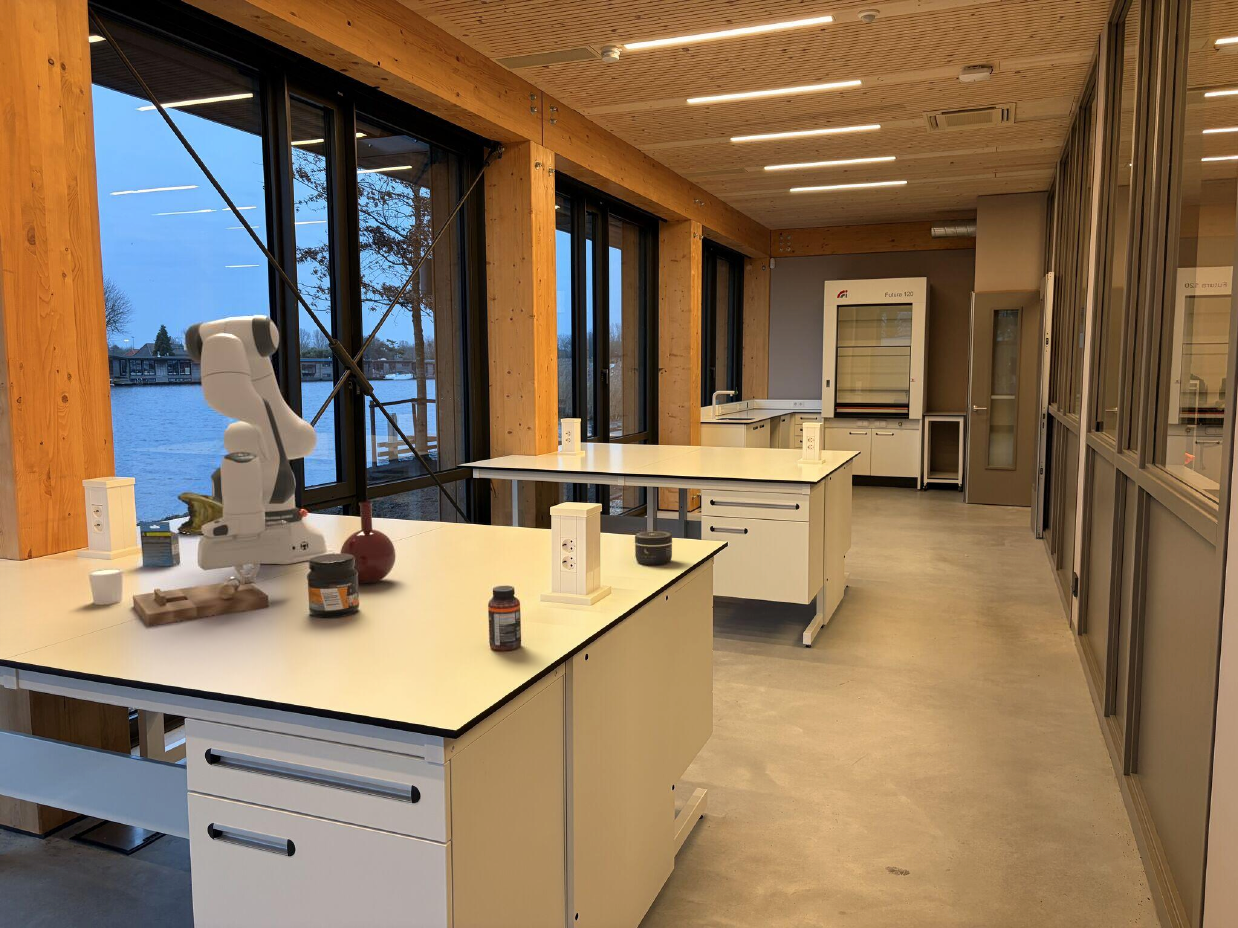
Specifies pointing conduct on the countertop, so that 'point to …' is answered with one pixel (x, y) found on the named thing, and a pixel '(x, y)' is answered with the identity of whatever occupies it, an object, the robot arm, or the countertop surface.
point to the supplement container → (333, 585)
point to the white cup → (106, 586)
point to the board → (196, 602)
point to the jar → (653, 548)
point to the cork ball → (226, 592)
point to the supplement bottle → (504, 619)
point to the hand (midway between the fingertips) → (248, 583)
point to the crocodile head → (199, 512)
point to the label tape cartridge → (159, 544)
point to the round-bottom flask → (370, 549)
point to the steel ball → (233, 582)
